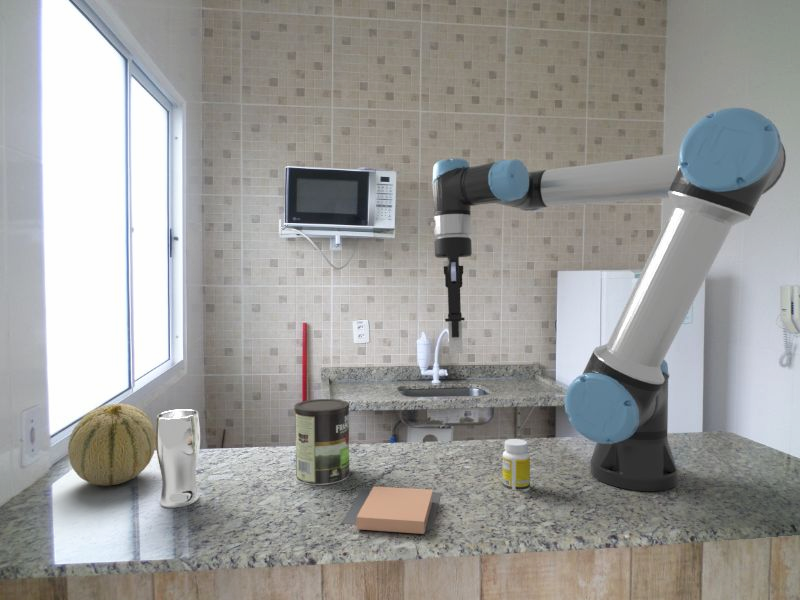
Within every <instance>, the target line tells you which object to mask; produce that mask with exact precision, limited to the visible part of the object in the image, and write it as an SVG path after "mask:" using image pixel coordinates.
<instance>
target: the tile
mask: <svg viewBox="0 0 800 600" xmlns="http://www.w3.org/2000/svg"><path fill="white" fill-rule="evenodd" d="M371 489H372V490H371V492H370V494H369V496H368V497H367V499H366V501H365V503H364V505H363V506H362V508H361V510H360V512H359V513H358V515H357V517H356V523H357V525H356V530H363V531H364V530H366V531H377V532H391V533H392V532H393V533H406V534H420V535H425V533H426V530H427V529H426V525H427V521H428V517H429V513H430V509H431V505H432V502H433V492H434V489H427V488H425V489H424V488H408V487H391V486H375V485H374V486H373V487H372V488H371Z"/></svg>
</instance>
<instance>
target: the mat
mask: <svg viewBox="0 0 800 600" xmlns="http://www.w3.org/2000/svg"><path fill="white" fill-rule="evenodd" d="M372 489H373V488H367V487H363V488H361V490H360V491H359V493H358V494H357V496H356V498H355V499H354V501H353V502H352V504H351V505H350V507H349V509H348V511H347V512H346V514H345V516H344V517H343V519H342V520H341V522H340V524H343V525H355V526H357V523H356V517H357V515H358V513H359V512H360V510H361V508H362V506H363V505H364V503H365V501H366V499H367V497H368V496H369V494H370V492H371V490H372ZM441 494H442V492H438V491H435V492H434V491H433V502H432V505H431V509H430V513H429V517H428V521H427V525H426V529H425V530H431V531H433V529H434V525H435V521H436V518H437V517H436V516H437V512H438V508H439V504H440V499H441V496H442V495H441Z"/></svg>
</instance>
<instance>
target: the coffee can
mask: <svg viewBox="0 0 800 600" xmlns="http://www.w3.org/2000/svg"><path fill="white" fill-rule="evenodd" d="M293 408H294V422H295V423H294V425H295V426H294V427H295V430H294V432H295V482H296V483H297V484H299V485H300V483H302V484H306V485H313V486H317V485H318V486H322V485H323V486H325V485H331V484H336V483H339V482H342V481H344V480H346V479H347V478H349V476H350V422H349V421H350V418H349V417H350V415H349V414H350V412H349V411H350V409H349V408H350V403H349V402H348V401H346V400H342V399H334V398H318V399H308V400H304V401H300V402H297V403H296V404H294V406H293Z"/></svg>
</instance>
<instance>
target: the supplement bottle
mask: <svg viewBox="0 0 800 600" xmlns="http://www.w3.org/2000/svg"><path fill="white" fill-rule="evenodd" d="M528 448H529V447H528V441H527V440H525V439H520V438H508V439H506V440H504V451H503V452H502V485H503V488H506V489H509V490H513V491H522V493H526V492H528V491H529V490H530V489H531V459H530V454H529V452H528Z"/></svg>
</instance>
